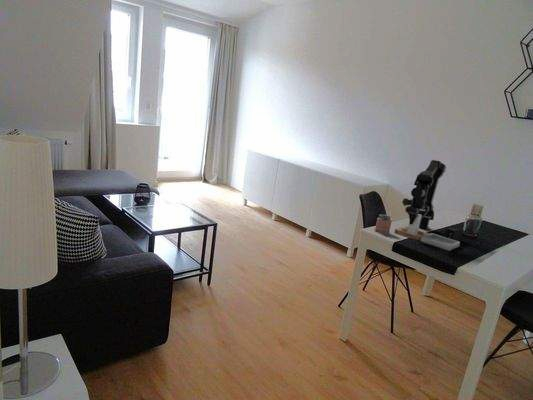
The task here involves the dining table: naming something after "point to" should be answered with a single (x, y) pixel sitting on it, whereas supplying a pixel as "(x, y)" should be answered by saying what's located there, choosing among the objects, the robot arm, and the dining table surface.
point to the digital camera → (453, 233)
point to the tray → (440, 242)
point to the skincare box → (414, 225)
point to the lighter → (383, 224)
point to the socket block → (403, 229)
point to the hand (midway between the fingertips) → (414, 223)
